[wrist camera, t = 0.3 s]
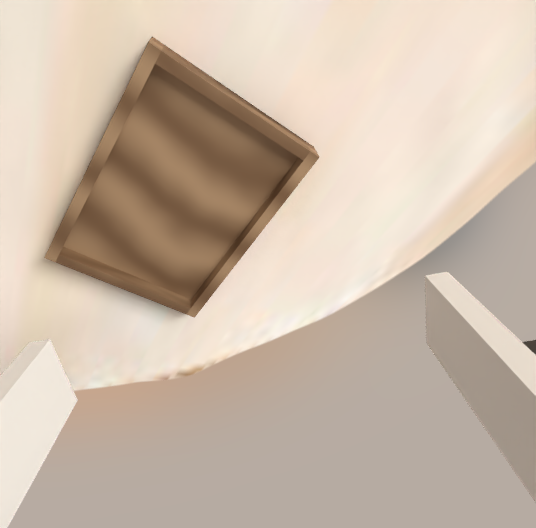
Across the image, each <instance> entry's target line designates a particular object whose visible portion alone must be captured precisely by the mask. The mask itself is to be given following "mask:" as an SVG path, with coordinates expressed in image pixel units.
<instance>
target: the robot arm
mask: <svg viewBox="0 0 536 528" xmlns="http://www.w3.org/2000/svg"><path fill="white" fill-rule="evenodd" d="M425 299H426V300H425V301H426V342H427V344H428V346H429V347H430V349H431V350H432V352H433V353H434V355H435V356H436V358H437V359H438V361H439V362H440V364H441V365H442V366H443V368H444V369H445V371H446V372H447V373H448V375H449V377H450V378H451V379H452V381H453V383H454V384H455V385H456V387H457V388H458V390H459V391H460V393H461V394H462V396H463V397H464V398H465V400H466V402H467V403H468V404H469V406H470V407H471V409H472V410H473V412H474V413H475V415H476V416H477V418H478V419H479V421H480V422H481V423H482V425H483V426H484V428H485V429H486V431H487V432H488V434H489V435H490V437H491V438H492V440H493V441H494V442H495V444H496V445H497V447H498V448H499V450H500V451H501V453H502V454H503V456H504V457H505V459H506V460H507V461H508V463H509V464H510V466H511V467H512V469H513V470H514V471H515V473H516V475H517V476H518V478H519V479H520V480H521V482H522V483H523V485H524V486H525V488H526V489H527V491H528V492H529V494H530V495H531V497H532V498H533V499H534V501H535V502H536V340H533V341H527V342H521V341H520V340H519V339H518V338H517V337H516V336H515V335H514V334H513V333H512V332H511V331H510V330H508V328H506V327H505V326H504V325H503V324H502V323H501V322H500V321H499V320H498V319H497V318H496V317H495V316H494V315H493V314H492V313H491V312H490V311H488V310H487V309H486V308H485V307H484V306H483V305H482V304H481V303H480V302H479V301H478V300H477V299H476V298H475V297H474V296H473V295H471V294H470V293H469V292H468V291H467V290H466V289H465V288H464V287H463V286H462V285H461V284H460V283H459V282H458V281H457V280H456V279H454V278H453V277H452V276H451V275H450V274H449V273H448V272H443V273H437V274H431V275H425ZM76 402H77V398H76V396H75V394H74V391H73V389H72V387H71V384H70V382H69V380H68V378H67V376H66V373H65V371H64V369H63V367H62V364H61V362H60V360H59V358H58V355H57V353H56V351H55V349H54V346H53V344H52V342H51V340H50V339H47V340H41V341H35V342H29V343H28V344H27V345H26V347H25V348H24V349H23V350H22V351H21V352H20V354H19V355H18V356H17V357H16V358H15V359H14V360H13V362H12V363H11V364H10V365H9V366H8V367H7V369H6V370H5V371H4V372H3V373H2V374H1V376H0V528H7V527H8V526H9V524H10V522H11V520H12V518H13V517H14V515H15V513H16V511H17V509H18V507H19V506H20V504H21V502H22V500H23V498H24V497H25V495H26V493H27V491H28V489H29V488H30V486H31V484H32V482H33V480H34V478H35V477H36V475H37V473H38V471H39V469H40V468H41V466H42V464H43V462H44V460H45V458H46V457H47V455H48V453H49V451H50V449H51V448H52V446H53V444H54V442H55V440H56V439H57V437H58V435H59V433H60V431H61V429H62V427H63V426H64V424H65V422H66V420H67V419H68V417H69V415H70V413H71V411H72V409H73V408H74V406H75V404H76Z"/></svg>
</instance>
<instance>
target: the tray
mask: <svg viewBox="0 0 536 528" xmlns="http://www.w3.org/2000/svg"><path fill="white" fill-rule="evenodd" d="M318 158H319V156H318V154H317V152H316V150H315V148H314V147H313V146H312V145H310V144H309V143H307V142H306V141H304V140H303V139H301V138H300V137H299V136H297V135H296V134H294V133H293V132H291V131H290V130H288V129H287V128H285V127H284V126H282V125H281V124H279V123H278V122H277V121H275V120H274V119H272V118H271V117H269V116H268V115H266V114H265V113H263V112H262V111H260V110H259V109H257V108H256V107H255V106H253V105H252V104H250V103H249V102H247V101H246V100H244V99H243V98H241V97H240V96H238V95H237V94H235V93H234V92H233V91H231V90H230V89H228V88H227V87H225V86H224V85H222V84H221V83H219V82H218V81H216V80H215V79H214V78H212V77H211V76H209V75H208V74H206V73H205V72H203V71H202V70H200V69H199V68H197V67H196V66H194V65H193V64H192V63H190V62H189V61H187V60H186V59H184V58H183V57H181V56H180V55H178V54H177V53H175V52H174V51H172V50H171V49H170V48H168V47H167V46H165V45H164V44H162V43H161V42H159V41H158V40H156V39H155V38H153V37H152V38H151V39H150V41H149V42H148V44H147V46H146V48H145V51H144V53H143V55H142V57H141V59H140V61H139V63H138V65H137V67H136V69H135V71H134V73H133V75H132V77H131V80H130V82H129V84H128V86H127V88H126V90H125V92H124V94H123V96H122V98H121V100H120V102H119V104H118V106H117V108H116V111H115V113H114V115H113V117H112V119H111V121H110V123H109V125H108V127H107V129H106V131H105V133H104V135H103V137H102V140H101V142H100V144H99V146H98V148H97V150H96V152H95V154H94V156H93V158H92V160H91V162H90V164H89V166H88V169H87V171H86V173H85V175H84V177H83V179H82V181H81V183H80V185H79V187H78V189H77V191H76V193H75V195H74V198H73V200H72V202H71V204H70V206H69V208H68V210H67V212H66V214H65V216H64V218H63V220H62V222H61V224H60V227H59V229H58V231H57V233H56V235H55V237H54V239H53V241H52V243H51V245H50V247H49V249H48V251H47V253H46V255H45V258H46V259H49V260H51V261H54V262H56V263H59V264H61V265H64V266H66V267H69V268H71V269H74V270H76V271H79V272H81V273H84V274H87V275H89V276H92V277H94V278H97V279H99V280H102V281H104V282H107V283H109V284H112V285H114V286H117V287H119V288H122V289H124V290H127V291H129V292H132V293H134V294H137V295H139V296H142V297H144V298H147V299H149V300H152V301H154V302H157V303H159V304H162V305H164V306H167V307H169V308H172V309H175V310H177V311H180V312H182V313H185V314H187V315H190V316H192V317H195V316H196V315H197V314H198V312H199V311H200V310H201V309H202V307H203V306H204V305H205V303H206V302H207V301H208V300H209V298H210V297H211V296H212V294H213V293H214V292H215V291H216V289H217V288H218V287H219V285H220V284H221V283H222V282H223V280H224V279H225V278H226V276H227V275H228V274H229V273H230V271H231V270H232V269H233V267H234V266H235V265H236V264H237V262H238V261H239V260H240V258H241V257H242V256H243V255H244V253H245V252H246V251H247V249H248V248H249V247H250V246H251V244H252V243H253V242H254V241H255V239H256V238H257V237H258V235H259V234H260V233H261V232H262V230H263V229H264V228H265V226H266V225H267V224H268V223H269V221H270V220H271V219H272V217H273V216H274V215H275V214H276V212H277V211H278V210H279V208H280V207H281V206H282V205H283V203H284V202H285V201H286V199H287V198H288V197H289V196H290V194H291V193H292V192H293V190H294V189H295V188H296V187H297V185H298V184H299V183H300V181H301V180H302V179H303V178H304V176H305V175H306V174H307V172H308V171H309V170H310V169H311V167H312V166H313V165H314V164H315V162H316V161H317V160H318Z"/></svg>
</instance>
